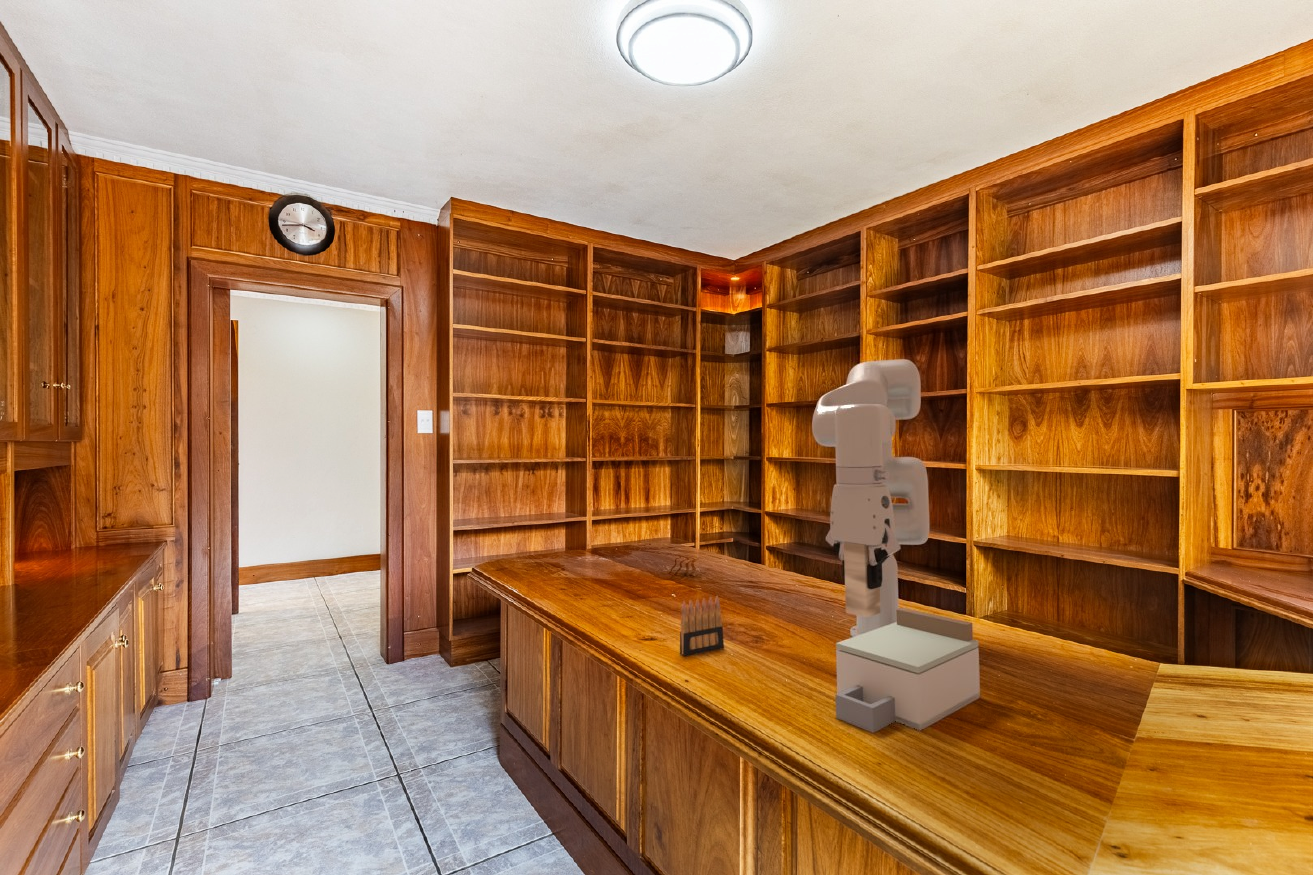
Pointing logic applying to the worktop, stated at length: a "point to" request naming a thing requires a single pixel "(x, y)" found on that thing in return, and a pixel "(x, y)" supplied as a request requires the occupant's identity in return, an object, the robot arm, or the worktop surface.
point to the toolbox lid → (914, 641)
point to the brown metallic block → (859, 582)
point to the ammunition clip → (701, 628)
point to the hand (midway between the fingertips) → (862, 584)
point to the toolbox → (903, 691)
